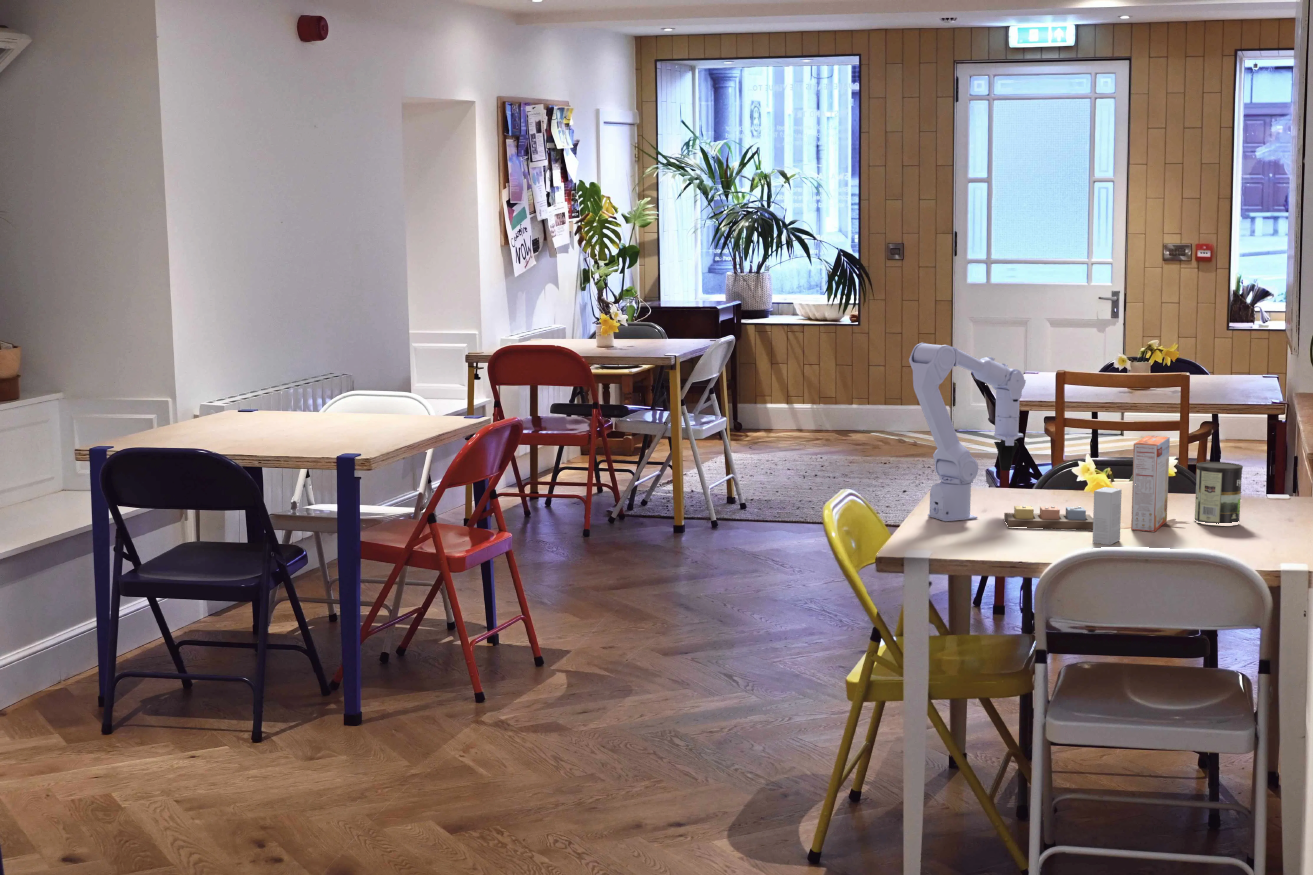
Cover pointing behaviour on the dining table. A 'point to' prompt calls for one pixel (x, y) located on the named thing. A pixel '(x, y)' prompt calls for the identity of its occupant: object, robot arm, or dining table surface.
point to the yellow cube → (1023, 512)
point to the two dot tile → (1049, 512)
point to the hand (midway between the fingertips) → (1005, 470)
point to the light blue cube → (1075, 513)
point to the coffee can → (1218, 492)
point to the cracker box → (1150, 483)
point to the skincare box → (1107, 515)
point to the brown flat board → (1049, 522)
